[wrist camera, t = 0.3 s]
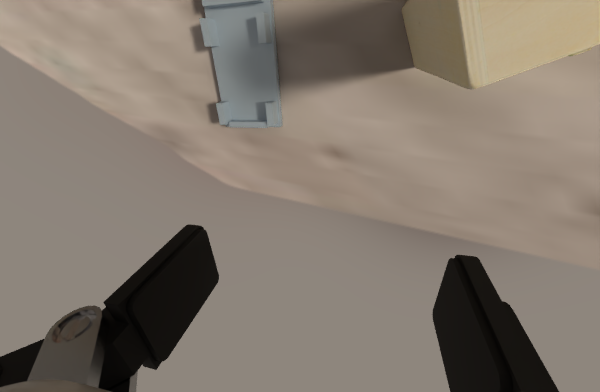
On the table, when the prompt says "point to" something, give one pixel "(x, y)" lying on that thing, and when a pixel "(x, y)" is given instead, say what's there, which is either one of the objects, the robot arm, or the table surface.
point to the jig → (244, 61)
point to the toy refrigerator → (496, 36)
